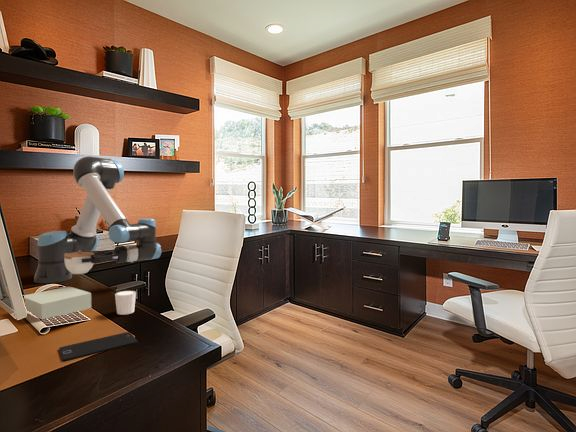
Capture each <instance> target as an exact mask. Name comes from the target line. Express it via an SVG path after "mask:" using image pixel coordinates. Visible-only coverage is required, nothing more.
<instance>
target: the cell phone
mask: <svg viewBox="0 0 576 432" xmlns="http://www.w3.org/2000/svg"><path fill="white" fill-rule="evenodd" d="M136 344H138V340H137V338H136V337H135V336H134V335H133V334H132V333H131V332H130V331H127V332H122V333H117V334H113V335H108V336H104V337H99V338H95V339H91V340H86V341H85V340H84V341H81V342H78V343H74V344H69V345H64V346H60V347H59V348H58V349H59V350H58V351H59V354H60V356H61V357H60V358H61V360H62V362H67V361H72V360H76V359H80V358H85V357H88V356H89V357H90V356H92V355H96V354H99V353H105V352H108V351H112V350H116V349H120V348H124V347H128V346H133V345H136Z"/></svg>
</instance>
